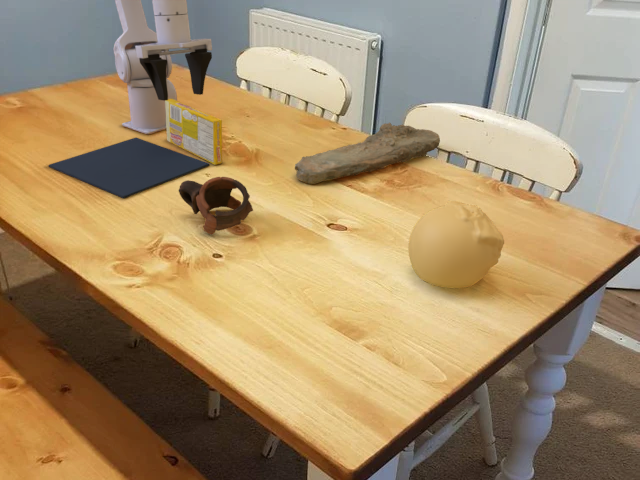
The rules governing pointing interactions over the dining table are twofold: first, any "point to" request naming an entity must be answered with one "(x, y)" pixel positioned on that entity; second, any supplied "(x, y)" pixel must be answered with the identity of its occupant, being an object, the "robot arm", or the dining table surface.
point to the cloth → (129, 167)
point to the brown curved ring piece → (216, 202)
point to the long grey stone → (368, 154)
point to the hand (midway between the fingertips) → (181, 96)
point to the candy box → (194, 131)
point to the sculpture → (454, 245)
